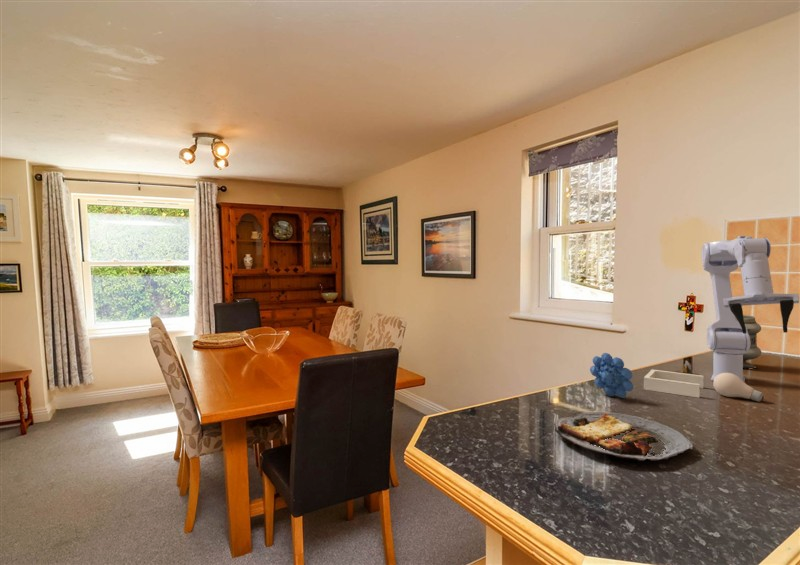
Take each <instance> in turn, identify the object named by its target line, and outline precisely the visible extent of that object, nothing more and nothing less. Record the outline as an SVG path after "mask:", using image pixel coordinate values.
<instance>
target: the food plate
mask: <svg viewBox="0 0 800 565" xmlns="http://www.w3.org/2000/svg"><path fill="white" fill-rule="evenodd" d="M553 425H554V426H553V427H554V432H556V433H557V434H558V435H559V437H561V438H563V439H565V440H567V441H569V442H571V443H572V444H574V445H577V446H578V447H580V448H581V449H586V450H588V451H591V452H595V453H599V454H605V455H610V456H615V457H617V458H620V459H628V460H633V462H636V461H640V462H642V461H645V460H647V459H648V460H649V461H651V462H654V461H659V460H668V459H669V458H672V457H675V456H678V454H682V453H684V452H685V451H687V450H689V449H690V450H693V448H694V445H693V443H692V442H691V440H689V439H688V438H687V437H686V436H685V435H684V434H682V433H681V432H680V431H678V430H676V429H675V428H672V427H670V426H668V425H667V424H663V423H661V422H658V421H655V420H650V419H646V418H644V417H640V416H636V415H630V414H624V413H619V412H611V411H610V412H609V411H584V412H582V411H579V412H578V411H577V412H575V413H571V414H567V415H565V416H562V417H559V418H557V419H555V421H554V423H553ZM632 428H635V429H637V430H640V431H636V430H633V429H632ZM630 429H632V430H631V432H628V433H627V434H626V435H624V436H623V437H622V441H621V440H618V439H614V438H613V436H616V435H620V433H625V432H626V431H630ZM650 434H652V435H653V436H651V435H650ZM654 436H655V437H657V438H658V439H660V440H661V441H662V442H663V443H664V444H665V445H664V447H665V448H666V450H665V449H663V450H664V451H663V450H662V451H663V452H662V453H663V454H662V453H661V454H660V455H659V454H657V455H655V456H650V457H648V456H646V455H647V453H649V452H650V450H652V449H654V448H653V446H652V444H649V445H648V443H649V442H648V443H646V441H650V442H652V441H651V440H656V441H657V440H658V439H657V438H655V437H654ZM607 438H608V441H606V440H605V439H607ZM609 438H612V440H611V439H609ZM662 442H661V443H662ZM663 443H662V444H663ZM591 444H592V445H591ZM594 445H596V446H594ZM599 446H600V447H599ZM601 448H603V449H605V450H603V449H601Z"/></svg>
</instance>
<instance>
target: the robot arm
mask: <svg viewBox="0 0 800 565" xmlns="http://www.w3.org/2000/svg"><path fill="white" fill-rule="evenodd" d="M771 250H772V249H771V241H770V239H769V238H767V237H762V238H761V237H760V238H759V237H758V238H753V237H752V236H746V235H738V236H737V237H736V238H734V239H732V240H730V239H729V240H717V241H709V242H705V243H704V244H703V245H702V247H701V262H702V267H703V270H704V271H705V272H708V273H709V276H710V279H711V286H712V294H713V302H714V310H715V318H716V319H715V321H714V322H711V324H709V325H708V326H707V329H706V345H707V346H708V348H709V350H711V351H713V356H712V357H713V358H712V360H713V361H712V362H713V365H712V366H713V367H712V368H713V369H712V370H713V371H712V375H711V378H710V380H711V381H714V379H715V377H716V376H717V375H719V374H721V373H732V374H734V375H736V376H738V377H739V378H740V379H741V380H742V381H743V382H744V383H745V381H746V378H745V376H743V375H744V369H743V354H745V352H746V351H748V350H749V349H750V345H751V341H750V336H749V334H748V331H747V328H746V326H745V323H744V318H743V315H744V312H743V306H757V305H758V306H759V305H775V304H776V305H777V304H779V309H780V314H781V320H782V321H781V322H782V332H783V333H786V334H787V333H788V324H789V319H790V317H791V314H792V311H793V310H794V306H795V305H794V304H800V296H799V293H774V289H773V288H774V286H773V282H772V275H771V270H770V263H769V257H770V255H771ZM738 268H740V273H741V279H742V280H741V281H742V288H743V294H744V295H741V296H739V295H738V296H734V297H733V292H732V291H733V290H732V285H731V278H730V274H731V273H732V272H734V271H736V270H738ZM735 317H736V318H737V320H738V321H736V320H735Z"/></svg>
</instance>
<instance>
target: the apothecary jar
mask: <svg viewBox="0 0 800 565" xmlns="http://www.w3.org/2000/svg"><path fill="white" fill-rule="evenodd" d="M743 318H744V323H745V326H746V328H747V331H748V334H749V336H750V341H751V345H750V349H749V350H748V351H746V352H745V354H743V368H754V367H755V366H756V365H755V364H752V363H750V362H747V361H749V360H755V359H758V358H759V357H760V356H761V355H762V349H761V348H759V346H758V344H757V341H758V340H757V339H758V338H757V334H759V333H760V332H761V330H762V327H761V325H760V324H759V323H758V322H757V320H756V317H755V316H752V315H746V314H743ZM735 320H736V321H738V320H737V318H736V317H735Z"/></svg>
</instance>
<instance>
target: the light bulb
mask: <svg viewBox="0 0 800 565" xmlns="http://www.w3.org/2000/svg"><path fill="white" fill-rule="evenodd" d="M712 385H713V388H714V390H715V391H716V392H717V393H718V394H719V395H721V396H724V397H728V398H742V399H746V400H751V401H755V402H756V401H757V402H758V403H759V402H761V401H763V400H764V394H763V392H762V391H759V390H756V389H755V388H754V387H752V386H750V385H748V384H747V383H746V382H745V381H744V382H743V381H742V380H741V379H740V378H739V377H738V376H736V375H734V374H732V373H721V374H719V375H717V376H716V377H715V379H714V381H713V383H712Z"/></svg>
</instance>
